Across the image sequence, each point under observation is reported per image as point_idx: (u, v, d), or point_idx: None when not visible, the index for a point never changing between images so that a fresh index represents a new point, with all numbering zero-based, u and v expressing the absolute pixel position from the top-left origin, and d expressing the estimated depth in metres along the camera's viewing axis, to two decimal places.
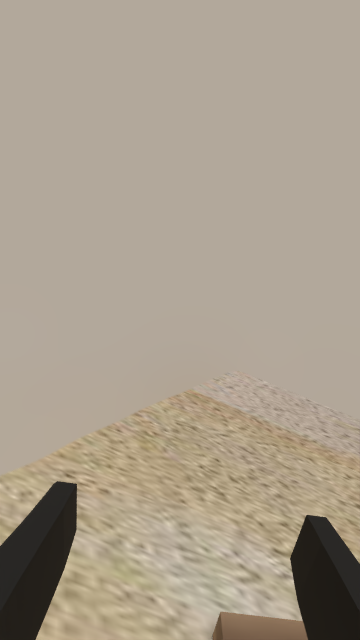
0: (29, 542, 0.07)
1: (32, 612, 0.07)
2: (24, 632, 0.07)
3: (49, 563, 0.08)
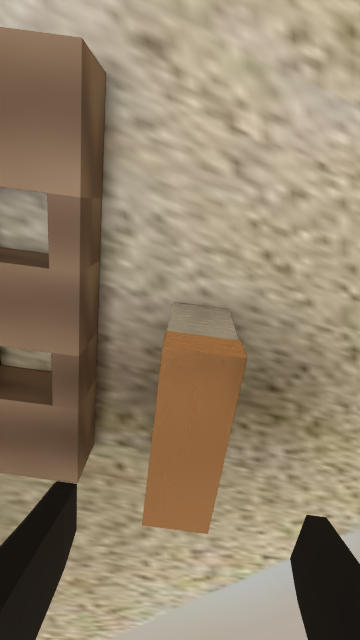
0: (29, 542, 0.07)
1: (32, 612, 0.07)
2: (24, 632, 0.07)
3: (49, 563, 0.08)
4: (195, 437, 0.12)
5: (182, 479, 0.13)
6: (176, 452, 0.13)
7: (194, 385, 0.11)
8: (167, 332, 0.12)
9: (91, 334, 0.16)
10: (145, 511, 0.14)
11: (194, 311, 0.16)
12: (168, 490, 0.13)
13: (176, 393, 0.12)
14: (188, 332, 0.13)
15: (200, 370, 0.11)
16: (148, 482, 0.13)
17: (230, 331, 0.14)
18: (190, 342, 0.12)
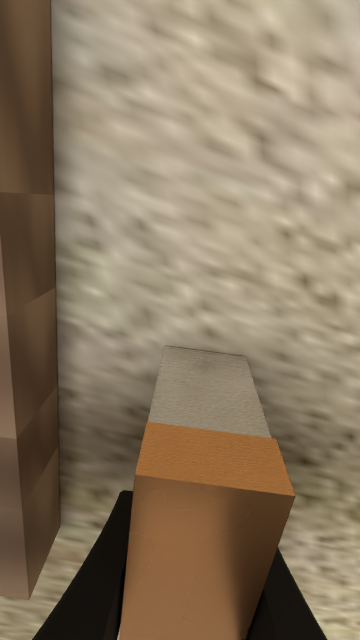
0: (115, 554, 0.07)
1: (116, 623, 0.07)
2: None
3: None
4: (197, 607, 0.07)
5: None
6: (164, 625, 0.07)
7: (195, 534, 0.06)
8: (148, 426, 0.07)
9: (44, 394, 0.11)
10: None
11: (196, 364, 0.10)
12: None
13: (163, 545, 0.06)
14: (185, 417, 0.08)
15: (206, 512, 0.06)
16: None
17: (253, 408, 0.09)
18: (188, 453, 0.06)
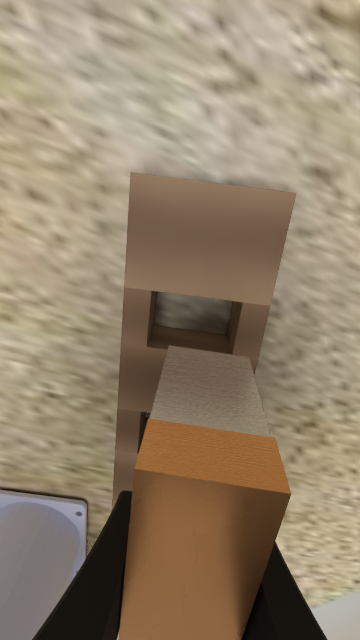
0: (114, 554, 0.07)
1: (115, 623, 0.07)
2: None
3: None
4: (195, 601, 0.07)
5: None
6: (163, 618, 0.08)
7: (193, 528, 0.06)
8: (149, 423, 0.07)
9: None
10: None
11: (199, 364, 0.11)
12: None
13: (161, 539, 0.07)
14: (186, 415, 0.08)
15: (204, 508, 0.06)
16: None
17: (254, 407, 0.09)
18: (187, 450, 0.07)
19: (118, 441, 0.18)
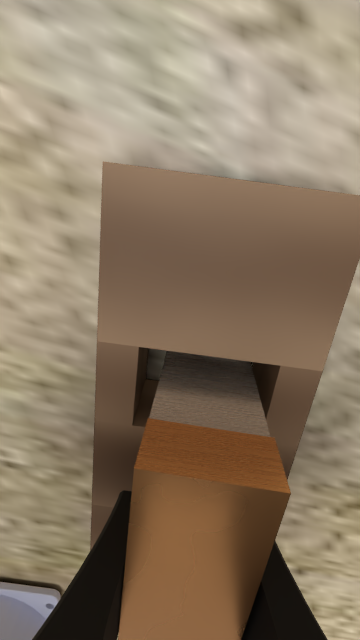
0: (114, 554, 0.07)
1: (116, 623, 0.07)
2: None
3: None
4: (195, 601, 0.07)
5: None
6: (163, 618, 0.08)
7: (193, 528, 0.06)
8: (149, 423, 0.07)
9: None
10: None
11: (199, 363, 0.11)
12: None
13: (161, 539, 0.07)
14: (186, 414, 0.08)
15: (203, 507, 0.06)
16: None
17: (254, 407, 0.09)
18: (186, 449, 0.07)
19: None
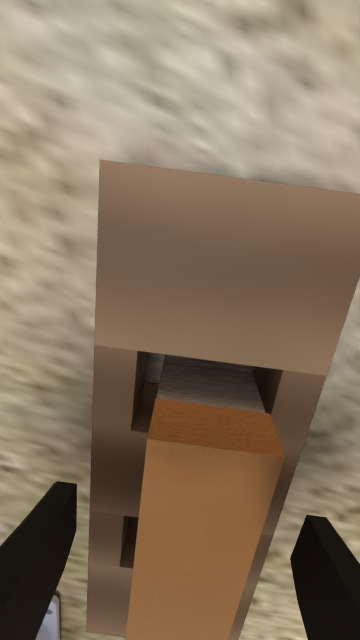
0: (29, 542, 0.07)
1: (32, 612, 0.07)
2: (24, 632, 0.07)
3: (49, 563, 0.08)
4: (200, 562, 0.08)
5: (180, 612, 0.09)
6: (171, 579, 0.08)
7: (199, 493, 0.07)
8: (157, 402, 0.08)
9: None
10: None
11: None
12: (159, 625, 0.09)
13: (170, 503, 0.07)
14: (189, 396, 0.09)
15: (208, 473, 0.07)
16: (130, 614, 0.09)
17: (250, 389, 0.09)
18: (192, 423, 0.07)
19: (92, 551, 0.13)
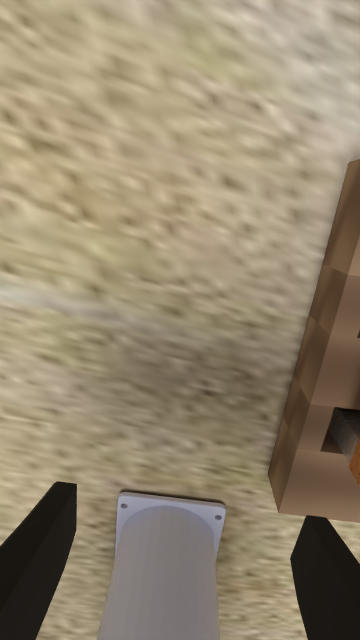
0: (29, 542, 0.07)
1: (32, 612, 0.07)
2: (24, 632, 0.07)
3: (49, 563, 0.08)
4: None
5: None
6: None
7: None
8: None
9: None
10: None
11: None
12: None
13: None
14: None
15: None
16: None
17: None
18: None
19: (303, 438, 0.17)
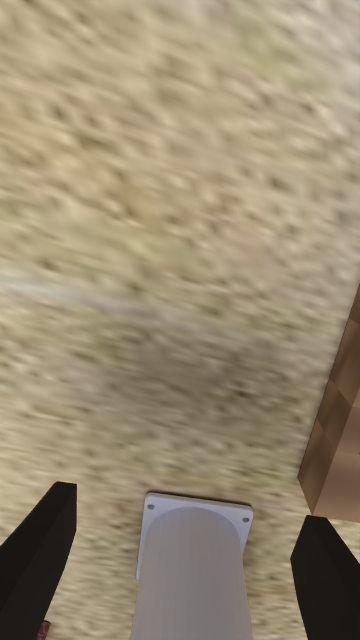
0: (29, 542, 0.07)
1: (32, 612, 0.07)
2: (24, 632, 0.07)
3: (49, 563, 0.08)
4: None
5: None
6: None
7: None
8: None
9: None
10: None
11: None
12: None
13: None
14: None
15: None
16: None
17: None
18: None
19: (342, 441, 0.17)
